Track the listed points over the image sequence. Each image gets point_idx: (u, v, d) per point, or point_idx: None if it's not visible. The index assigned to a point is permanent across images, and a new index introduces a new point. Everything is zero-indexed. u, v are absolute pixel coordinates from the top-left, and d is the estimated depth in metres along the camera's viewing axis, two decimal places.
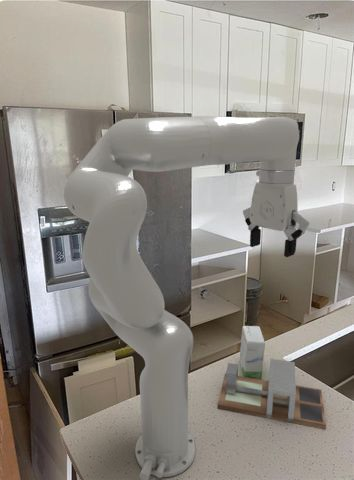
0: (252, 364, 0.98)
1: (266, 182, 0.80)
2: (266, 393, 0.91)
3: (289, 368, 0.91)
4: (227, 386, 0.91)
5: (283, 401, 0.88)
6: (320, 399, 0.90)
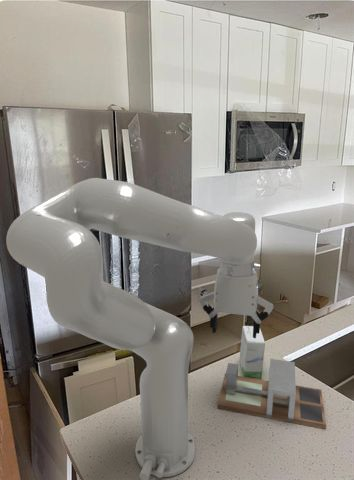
0: (252, 364, 0.98)
1: None
2: (266, 393, 0.91)
3: (289, 368, 0.91)
4: (227, 386, 0.91)
5: (283, 401, 0.88)
6: (320, 399, 0.90)
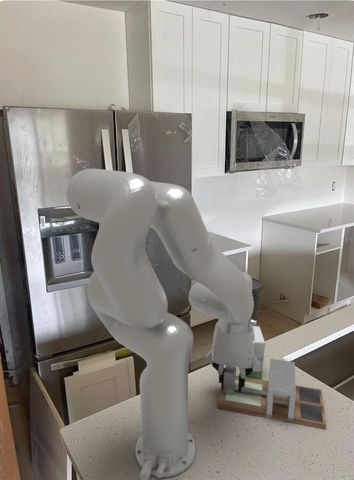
0: None
1: None
2: (264, 393, 0.91)
3: (289, 368, 0.91)
4: (225, 386, 0.91)
5: (281, 401, 0.88)
6: (320, 399, 0.90)
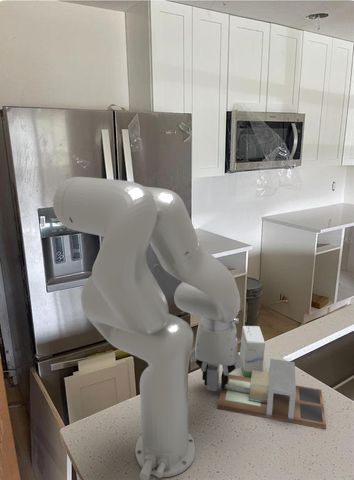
0: (252, 364, 0.98)
1: None
2: (247, 390, 0.92)
3: (289, 368, 0.91)
4: (208, 383, 0.93)
5: (263, 397, 0.89)
6: (320, 399, 0.90)
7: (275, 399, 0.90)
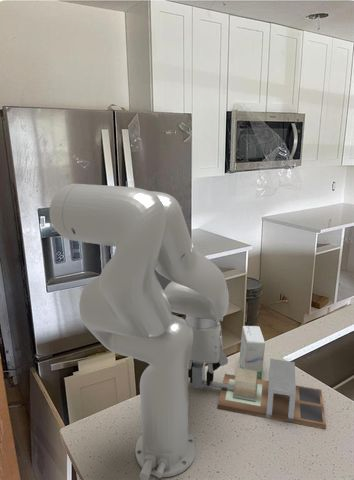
0: (252, 364, 0.98)
1: None
2: (232, 387, 0.93)
3: (289, 368, 0.91)
4: (194, 380, 0.94)
5: (247, 395, 0.90)
6: (320, 399, 0.90)
7: (275, 399, 0.90)
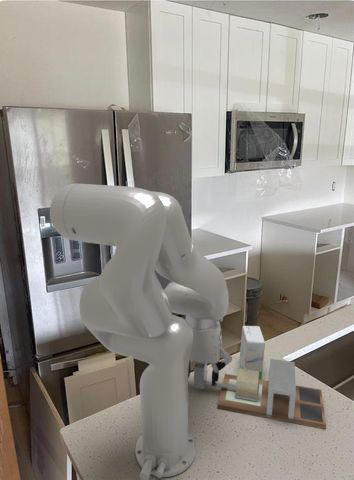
0: (252, 364, 0.98)
1: None
2: (233, 387, 0.93)
3: (289, 368, 0.91)
4: (195, 380, 0.93)
5: (249, 395, 0.90)
6: (320, 399, 0.90)
7: (275, 399, 0.90)
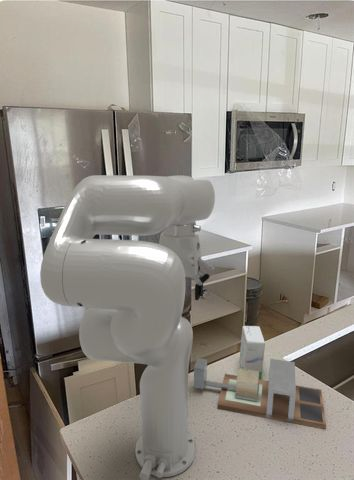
0: (252, 364, 0.98)
1: None
2: (233, 387, 0.93)
3: (289, 368, 0.91)
4: (195, 380, 0.93)
5: (249, 395, 0.90)
6: (320, 399, 0.90)
7: (275, 399, 0.90)
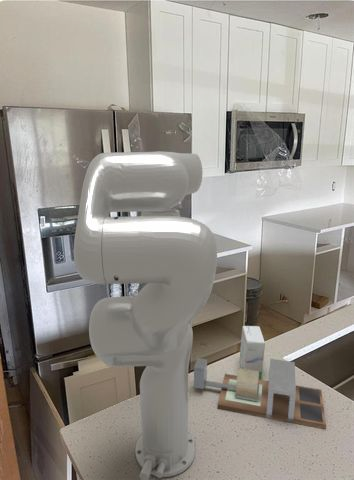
0: (252, 364, 0.98)
1: None
2: (233, 387, 0.93)
3: (289, 368, 0.91)
4: (195, 380, 0.93)
5: (249, 395, 0.90)
6: (320, 399, 0.90)
7: (275, 399, 0.90)
